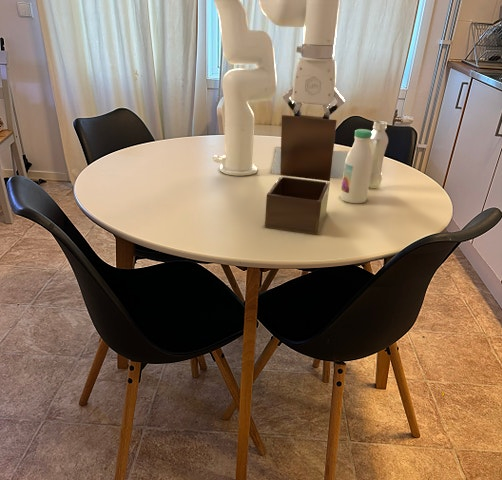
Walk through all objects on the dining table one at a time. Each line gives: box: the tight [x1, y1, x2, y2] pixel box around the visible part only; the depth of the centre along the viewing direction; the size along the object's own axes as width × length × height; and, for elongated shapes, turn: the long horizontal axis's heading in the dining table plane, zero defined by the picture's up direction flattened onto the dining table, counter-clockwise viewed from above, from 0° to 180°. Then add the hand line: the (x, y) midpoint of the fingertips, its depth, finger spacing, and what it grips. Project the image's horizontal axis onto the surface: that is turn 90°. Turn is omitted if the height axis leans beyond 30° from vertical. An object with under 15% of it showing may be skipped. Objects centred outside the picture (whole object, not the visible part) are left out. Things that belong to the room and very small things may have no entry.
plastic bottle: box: [369, 120, 389, 189], centre depth 148 cm, size 6×7×20 cm
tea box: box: [264, 175, 331, 236], centre depth 125 cm, size 16×14×9 cm
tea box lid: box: [279, 114, 338, 182], centre depth 125 cm, size 16×14×6 cm
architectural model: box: [270, 146, 349, 179], centre depth 172 cm, size 35×28×14 cm
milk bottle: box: [340, 128, 373, 204], centre depth 137 cm, size 8×8×20 cm
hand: (310, 129), depth 123 cm, fingers closed on tea box lid, 6 cm apart
